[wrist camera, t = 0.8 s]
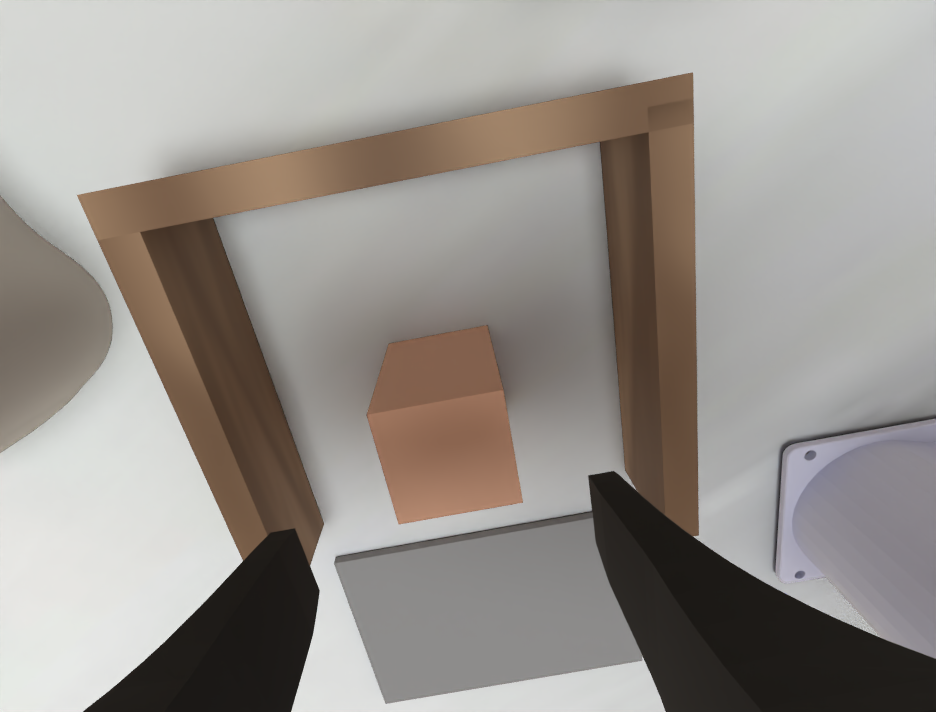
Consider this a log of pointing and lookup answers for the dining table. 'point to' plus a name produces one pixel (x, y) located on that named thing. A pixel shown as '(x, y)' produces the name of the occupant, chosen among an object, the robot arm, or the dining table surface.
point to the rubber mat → (486, 608)
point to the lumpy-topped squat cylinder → (44, 328)
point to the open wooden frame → (385, 161)
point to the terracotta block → (443, 427)
